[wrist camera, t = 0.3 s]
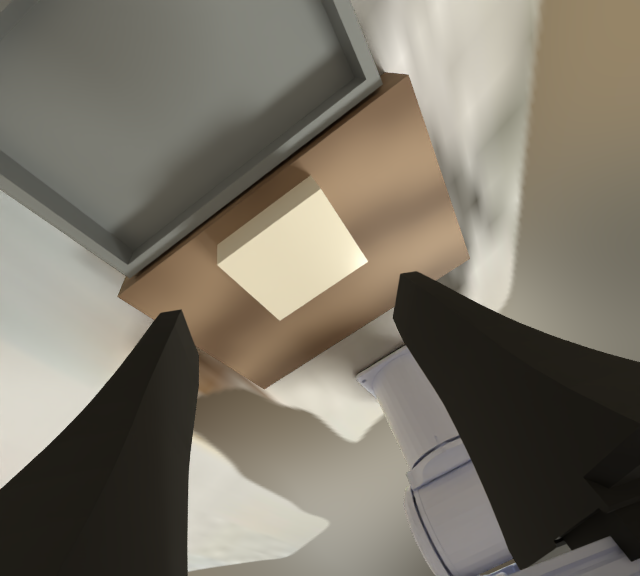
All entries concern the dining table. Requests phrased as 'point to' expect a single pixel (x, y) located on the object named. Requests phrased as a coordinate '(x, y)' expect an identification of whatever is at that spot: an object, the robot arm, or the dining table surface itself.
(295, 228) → the tile
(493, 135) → the dining table surface
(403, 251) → the board
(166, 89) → the tray
